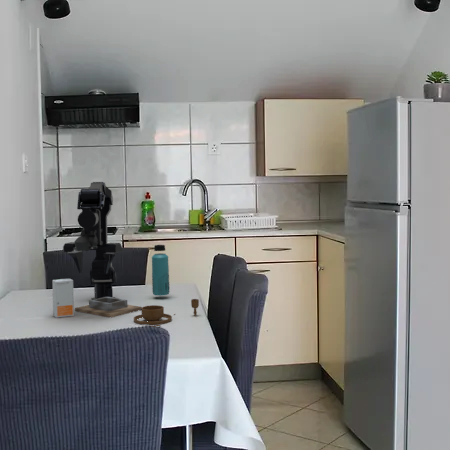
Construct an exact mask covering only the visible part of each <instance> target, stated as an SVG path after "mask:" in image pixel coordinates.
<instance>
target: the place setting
mask: <svg viewBox="0 0 450 450" xmlns="http://www.w3.org/2000/svg"><path fill="white" fill-rule="evenodd" d="M190 302H191V304H190V305H191V308H192V309H193V316H194V317H196V316H198V315H197V313H198V312H197V309H198V308H199V304H200V301H199V299H198V298H192V299H191V301H190ZM141 307H142V310H141V314H138V315H135V316H134V317H133V322H134V323H135V322H136V323H135V324H137V323H139V324H138V325H142V324H149V325H148V326H153V325H156V326H160V327H161V325H164V324H167V323H170V322H171V321H172V320H173V318H172V315H170V314H169V313H164V312H165V310H164V308H165V307H164V306H162V305H157V304H156V305H155V304H154V305H145V306H141ZM175 315H176V313H174V314H173V316H175ZM142 317H143V318H142ZM139 318H141V319H144V320H145V321H143V320H140V319H139ZM163 318H166V319H163ZM137 319H138V320H137ZM162 319H163V320H162ZM147 321H148V322H147ZM156 326H155V327H156Z"/></svg>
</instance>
